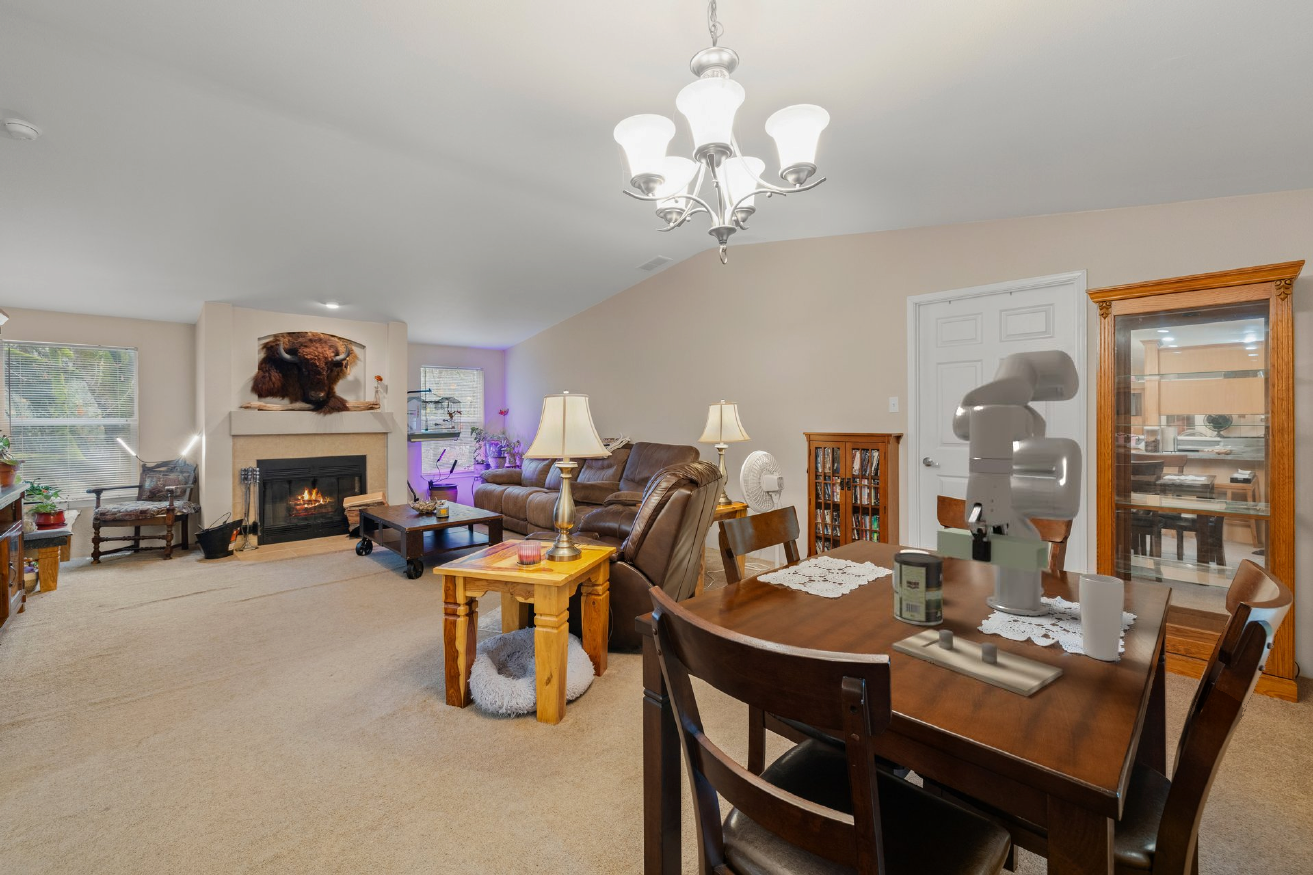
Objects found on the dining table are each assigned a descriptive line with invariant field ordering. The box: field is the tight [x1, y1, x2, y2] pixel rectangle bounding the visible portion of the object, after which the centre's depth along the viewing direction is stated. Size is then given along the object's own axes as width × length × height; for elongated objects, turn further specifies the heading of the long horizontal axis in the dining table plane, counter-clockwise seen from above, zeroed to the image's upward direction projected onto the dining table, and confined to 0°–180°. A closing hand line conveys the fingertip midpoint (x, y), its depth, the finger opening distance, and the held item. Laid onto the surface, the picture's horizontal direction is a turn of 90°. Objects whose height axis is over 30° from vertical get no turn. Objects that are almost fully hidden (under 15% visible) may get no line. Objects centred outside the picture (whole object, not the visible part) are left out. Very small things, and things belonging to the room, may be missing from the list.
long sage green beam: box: [936, 527, 1050, 572], centre depth 111 cm, size 6×18×5 cm, turn 35°
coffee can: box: [893, 552, 944, 627], centre depth 129 cm, size 10×10×14 cm
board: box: [891, 628, 1063, 697], centre depth 106 cm, size 14×24×4 cm, turn 35°
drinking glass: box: [1078, 573, 1125, 662], centre depth 108 cm, size 7×7×15 cm
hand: (989, 557), depth 111 cm, fingers closed on long sage green beam, 6 cm apart
